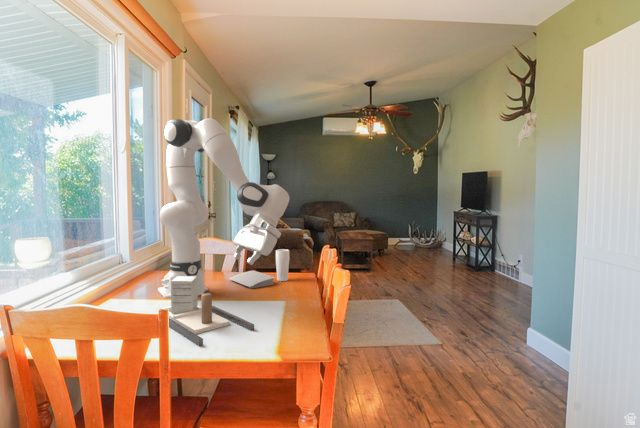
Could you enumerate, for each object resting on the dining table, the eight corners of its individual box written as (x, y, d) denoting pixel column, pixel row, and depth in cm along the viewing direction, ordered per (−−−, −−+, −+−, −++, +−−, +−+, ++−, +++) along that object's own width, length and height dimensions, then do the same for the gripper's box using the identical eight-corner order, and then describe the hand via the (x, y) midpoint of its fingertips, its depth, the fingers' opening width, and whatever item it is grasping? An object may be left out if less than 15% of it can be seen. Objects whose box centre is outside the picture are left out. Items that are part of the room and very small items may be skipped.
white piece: (287, 282, 178) (287, 251, 177) (273, 281, 179) (273, 250, 178) (290, 279, 185) (291, 249, 184) (277, 278, 186) (278, 248, 185)
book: (255, 277, 191) (255, 269, 191) (280, 286, 174) (280, 277, 173) (227, 281, 181) (227, 273, 181) (251, 291, 164) (251, 282, 163)
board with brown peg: (160, 313, 130) (160, 284, 130) (193, 306, 139) (193, 279, 138) (194, 334, 112) (194, 300, 111) (230, 324, 120) (229, 293, 119)
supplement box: (177, 310, 133) (176, 275, 133) (198, 310, 134) (198, 275, 133) (170, 317, 126) (170, 280, 125) (193, 317, 127) (192, 280, 126)
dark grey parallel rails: (162, 322, 122) (162, 316, 121) (212, 310, 134) (212, 305, 134) (199, 346, 103) (199, 339, 103) (254, 330, 116) (254, 324, 116)
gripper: (240, 219, 138) (221, 251, 134) (271, 225, 123) (251, 262, 119) (252, 227, 142) (234, 259, 138) (284, 234, 127) (264, 271, 123)
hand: (242, 261), depth 128 cm, fingers open, 8 cm apart
